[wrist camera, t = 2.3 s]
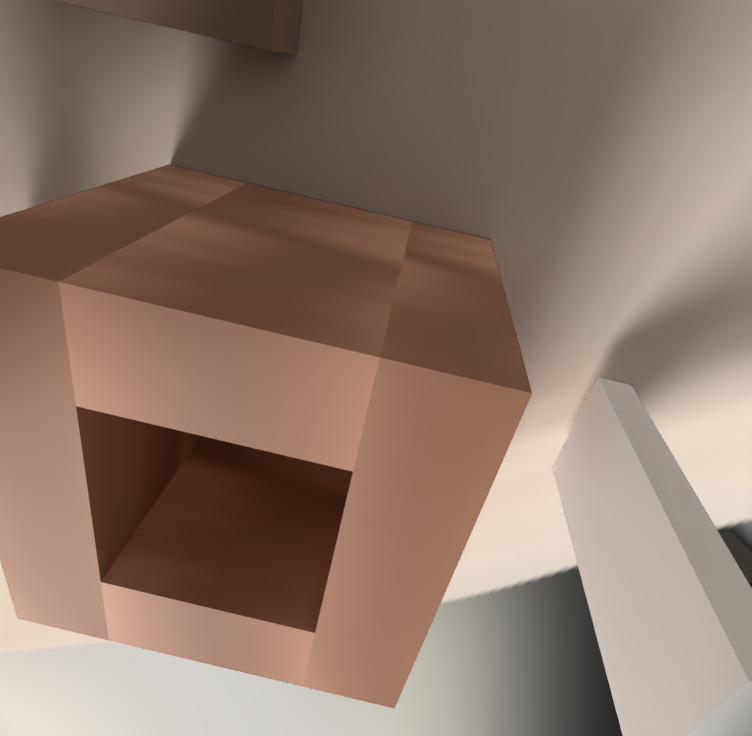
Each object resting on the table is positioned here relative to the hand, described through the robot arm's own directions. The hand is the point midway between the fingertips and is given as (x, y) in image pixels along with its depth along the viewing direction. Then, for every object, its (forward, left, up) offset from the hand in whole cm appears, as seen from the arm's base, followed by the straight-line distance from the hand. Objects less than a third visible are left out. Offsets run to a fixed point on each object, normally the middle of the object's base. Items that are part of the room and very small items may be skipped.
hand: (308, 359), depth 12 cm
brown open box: (0, 0, -1) cm, 1 cm away
